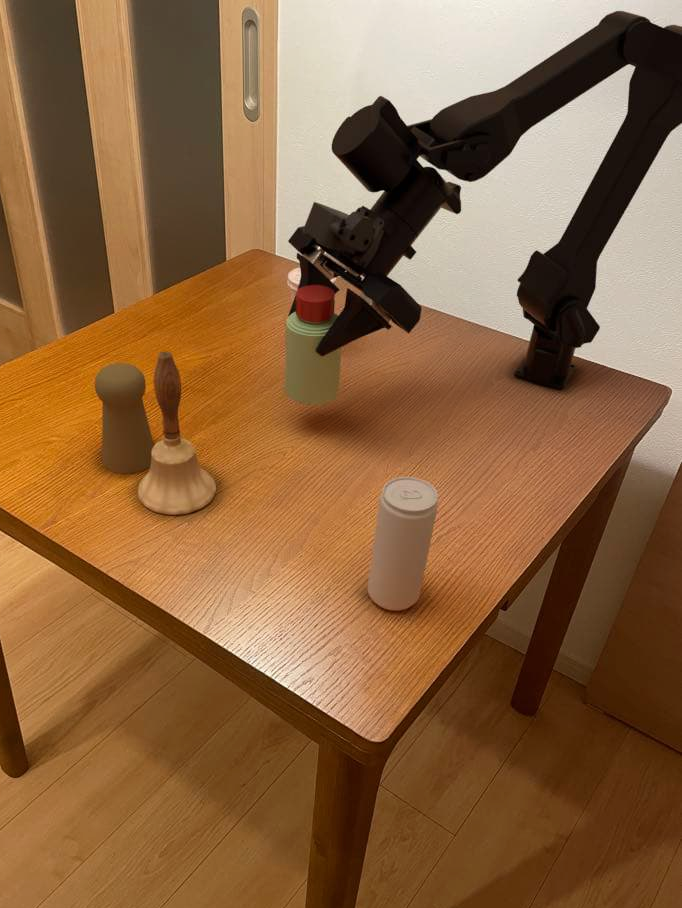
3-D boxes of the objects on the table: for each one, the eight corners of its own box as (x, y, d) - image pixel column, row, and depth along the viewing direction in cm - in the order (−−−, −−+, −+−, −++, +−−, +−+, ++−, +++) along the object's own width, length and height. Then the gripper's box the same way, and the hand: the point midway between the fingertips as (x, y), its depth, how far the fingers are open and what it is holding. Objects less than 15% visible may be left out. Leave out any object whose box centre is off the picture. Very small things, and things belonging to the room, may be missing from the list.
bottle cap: (307, 301, 88) (308, 281, 86) (340, 310, 86) (341, 290, 85) (288, 316, 85) (289, 296, 84) (322, 325, 84) (323, 305, 82)
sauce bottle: (301, 371, 95) (304, 280, 88) (347, 385, 93) (354, 293, 85) (274, 394, 91) (275, 301, 84) (322, 410, 89) (327, 316, 81)
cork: (165, 448, 90) (158, 361, 83) (141, 478, 86) (131, 389, 79) (117, 437, 92) (106, 351, 84) (91, 466, 87) (77, 378, 80)
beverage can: (362, 577, 75) (376, 476, 67) (412, 575, 76) (432, 474, 68) (371, 615, 72) (386, 512, 64) (424, 612, 72) (446, 510, 64)
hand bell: (121, 496, 84) (102, 360, 73) (172, 458, 89) (161, 326, 78) (182, 526, 80) (172, 388, 70) (231, 485, 86) (229, 350, 75)
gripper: (305, 146, 84) (216, 269, 87) (411, 202, 72) (302, 342, 75) (362, 210, 92) (278, 320, 96) (465, 269, 80) (365, 392, 83)
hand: (302, 340), depth 87 cm, fingers closed on sauce bottle, 6 cm apart
